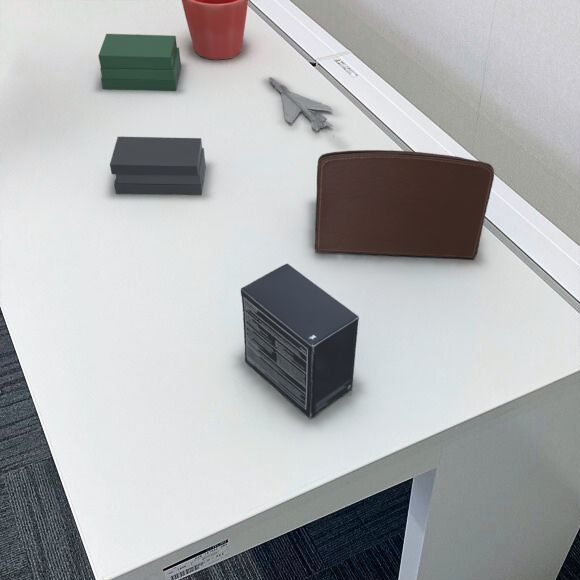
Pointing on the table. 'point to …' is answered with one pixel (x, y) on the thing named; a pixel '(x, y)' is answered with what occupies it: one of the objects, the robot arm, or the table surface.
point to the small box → (299, 338)
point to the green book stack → (142, 77)
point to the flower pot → (216, 26)
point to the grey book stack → (158, 165)
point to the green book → (138, 51)
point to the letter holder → (401, 203)
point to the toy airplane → (301, 107)
